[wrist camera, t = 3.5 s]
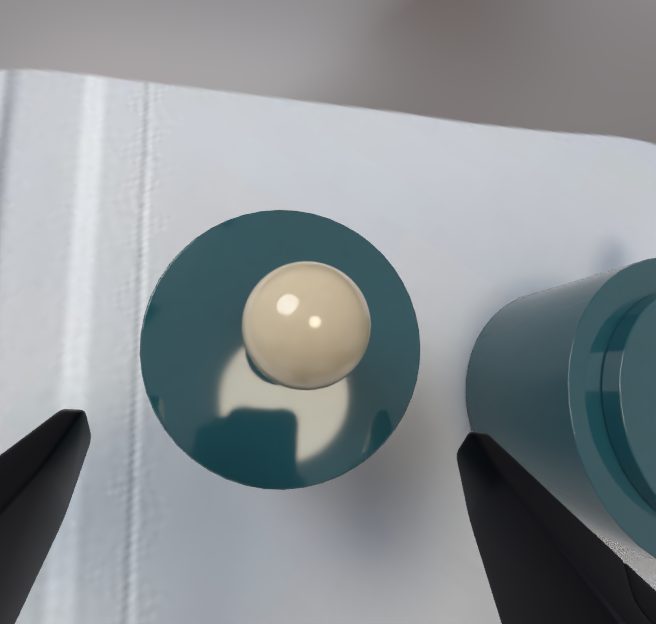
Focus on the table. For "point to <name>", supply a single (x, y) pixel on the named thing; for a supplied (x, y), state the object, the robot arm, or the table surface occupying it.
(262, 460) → the teapot lid
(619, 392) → the teapot
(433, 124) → the table surface
